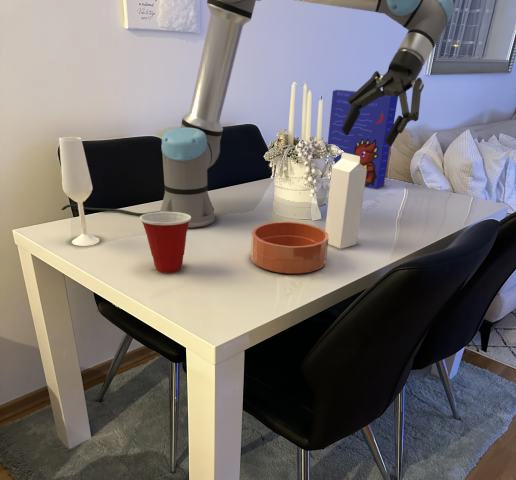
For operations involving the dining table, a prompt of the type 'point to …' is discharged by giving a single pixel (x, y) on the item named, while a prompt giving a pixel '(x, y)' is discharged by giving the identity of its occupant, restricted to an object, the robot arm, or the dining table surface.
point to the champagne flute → (76, 181)
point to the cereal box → (364, 133)
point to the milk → (345, 201)
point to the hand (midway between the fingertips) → (365, 137)
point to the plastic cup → (166, 238)
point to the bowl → (289, 247)
